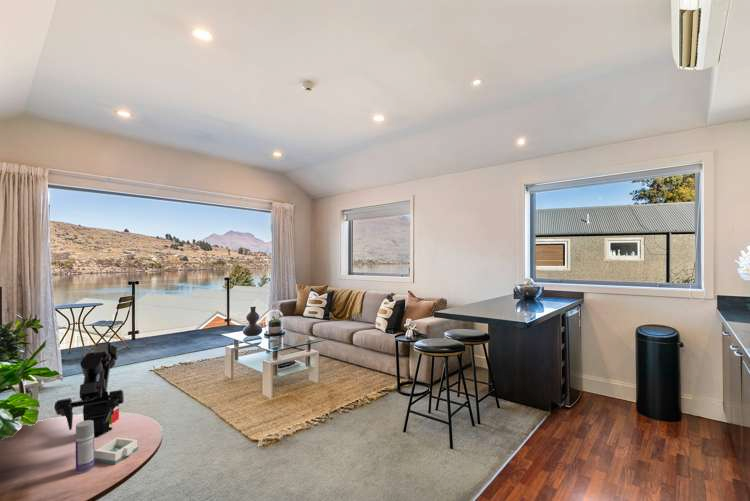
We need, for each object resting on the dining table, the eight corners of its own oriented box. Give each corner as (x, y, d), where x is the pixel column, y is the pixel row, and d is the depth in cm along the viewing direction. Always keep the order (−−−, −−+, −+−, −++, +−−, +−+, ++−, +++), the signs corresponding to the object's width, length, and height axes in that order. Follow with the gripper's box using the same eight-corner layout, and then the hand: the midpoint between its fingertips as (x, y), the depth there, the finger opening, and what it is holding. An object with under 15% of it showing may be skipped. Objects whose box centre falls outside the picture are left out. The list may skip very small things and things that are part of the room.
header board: (93, 461, 121) (93, 450, 121) (117, 446, 130) (117, 437, 130) (117, 464, 119) (117, 454, 119) (140, 449, 128) (140, 440, 128)
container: (78, 466, 118) (78, 421, 118) (96, 463, 120) (96, 418, 120) (73, 474, 114) (73, 427, 114) (91, 471, 115) (91, 425, 115)
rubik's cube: (111, 424, 146) (111, 412, 146) (98, 425, 146) (98, 413, 146) (119, 419, 151) (119, 407, 151) (106, 419, 151) (106, 407, 151)
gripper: (55, 377, 121) (46, 423, 111) (122, 367, 130) (119, 409, 121) (61, 392, 128) (53, 437, 118) (125, 382, 137) (122, 423, 127)
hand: (87, 426), depth 121 cm, fingers open, 9 cm apart
